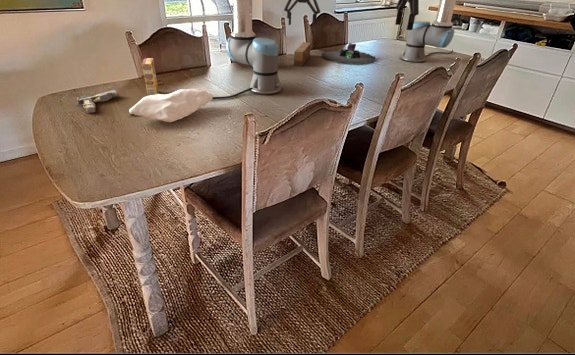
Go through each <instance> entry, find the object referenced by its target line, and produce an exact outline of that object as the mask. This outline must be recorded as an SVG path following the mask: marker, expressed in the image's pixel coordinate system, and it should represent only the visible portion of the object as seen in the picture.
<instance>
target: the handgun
mask: <svg viewBox="0 0 575 355" xmlns="http://www.w3.org/2000/svg"><path fill="white" fill-rule="evenodd" d="M119 96H120V94H119V92H118V91H117V90H116V89H112V90H108V91H105V92H104V91H103V92H101V93H96V94H94V95H86V94H85V95H84V94H83V95H81V96H80V97H77V98H76V101H77V104H78V105H82V108H83V109H84V110H85V113H87V114H91V113H95V112H96V104H95V103H98V102H106V101H109V100H111V99H113V98H117V97H119Z"/></svg>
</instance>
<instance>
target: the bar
mask: <svg viewBox="0 0 575 355" xmlns="http://www.w3.org/2000/svg"><path fill="white" fill-rule="evenodd" d="M311 46H312V42H306V41H303V42H302V43H301V44H300V45H298V47H297V48H296V49H295V50H294V51H293V52H294V53H293V54H294V55H293V66H295V67H303V66H304V65H305V63H306V62H307V60H308V59H309V58H310V57H311Z"/></svg>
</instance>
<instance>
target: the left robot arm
mask: <svg viewBox="0 0 575 355" xmlns="http://www.w3.org/2000/svg"><path fill="white" fill-rule="evenodd" d="M292 1H293V0H287V2H286V4H285V7H284V9H283V12H286V18H287V19H288V26H290V25H292V10H293V8H295V6H296V5H297V4H298V3H299V4H302V3H303V4H307V5H308V7H309V8H310V10H311V11H312V12H313V14H312V21H311V28H314V27H315V22H316V21H317V18H318V14H320V13H321V9H320V6H319V3H318V1H317V0H312V1H313V4H314V5H313V4H312V2H311V0H294V2H293V3H291V2H292ZM290 4H291V6H290ZM289 6H290V7H289ZM232 14H233V15H232V18H233V19H232V20H233V31H232V32H231V33H230V36H229V37H228V38H227V41H226V43H225V50H226V54H227V56H228V58H229V59H230V60H231V61H233V62H236V63H239V64H244V65H247V66H250V67H252V66H253V67H252V69H253V70H252V77H251V81H250V83H249V88H246V89H244V90H242V91H239V92H237V93H235V94H230V95H227V96H226V95H225V96H213V98H212V100H226V99H231V98H235V97H237V96H241V95H242V94H244V93H247V92H249V91H250V92H251V93H253V94H255V95H261V96H271V95H277V94H279V93H281V92H282V81H280V78H279V45H278V43H277V42H276V41H275V40H273V39H272V38H269V37H256V33H255V32H254V31H253V0H232ZM129 115H130V116H131V117H133V116H135V115H134V114H130V113H129Z"/></svg>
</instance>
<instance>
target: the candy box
mask: <svg viewBox="0 0 575 355" xmlns="http://www.w3.org/2000/svg"><path fill="white" fill-rule="evenodd" d="M141 66H142V73H143V78H144V82H145V87H146V92H147V96H150V95H156V94H159V91H160V90H159V84H158V79H157V73H156V66H155V62H154V58H153V57H151V58H150V57H149V58H146V57H145V58H143V60H142V63H141Z"/></svg>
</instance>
